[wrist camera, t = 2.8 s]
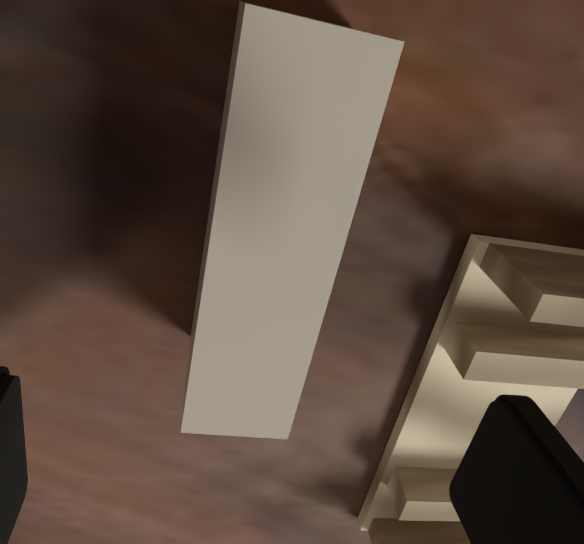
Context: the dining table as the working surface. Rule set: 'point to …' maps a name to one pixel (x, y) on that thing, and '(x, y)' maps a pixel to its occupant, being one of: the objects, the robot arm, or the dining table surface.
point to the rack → (478, 378)
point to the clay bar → (279, 212)
